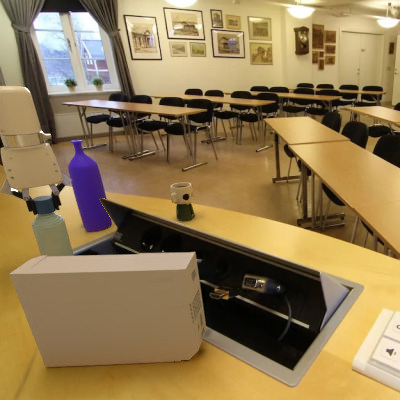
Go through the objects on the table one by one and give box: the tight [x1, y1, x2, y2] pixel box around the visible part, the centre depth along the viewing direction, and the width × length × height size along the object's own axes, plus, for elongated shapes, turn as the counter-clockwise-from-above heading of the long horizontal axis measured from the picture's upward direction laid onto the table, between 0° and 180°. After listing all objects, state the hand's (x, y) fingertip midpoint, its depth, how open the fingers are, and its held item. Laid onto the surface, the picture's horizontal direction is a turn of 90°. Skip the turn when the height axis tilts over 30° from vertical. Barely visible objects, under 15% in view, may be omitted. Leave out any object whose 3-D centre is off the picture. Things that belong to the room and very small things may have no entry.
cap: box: [32, 195, 57, 215], centre depth 82 cm, size 4×4×4 cm
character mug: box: [169, 181, 196, 221], centre depth 117 cm, size 11×7×13 cm, turn 163°
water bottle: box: [31, 212, 75, 256], centre depth 85 cm, size 7×7×19 cm
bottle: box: [67, 139, 112, 232], centre depth 106 cm, size 8×8×30 cm
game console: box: [9, 251, 207, 368], centre depth 58 cm, size 6×27×20 cm, turn 94°
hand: (46, 210), depth 83 cm, fingers closed on cap, 3 cm apart
